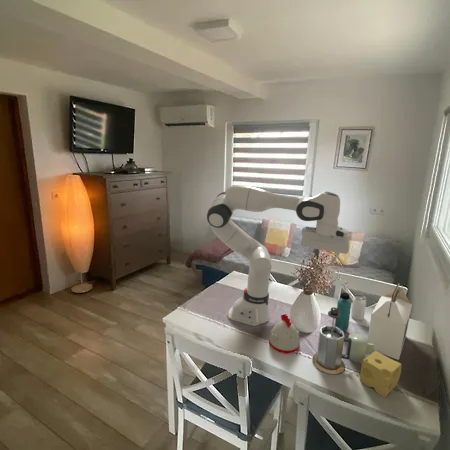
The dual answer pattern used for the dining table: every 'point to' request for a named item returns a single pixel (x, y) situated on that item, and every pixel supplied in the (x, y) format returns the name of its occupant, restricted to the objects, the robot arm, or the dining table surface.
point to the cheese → (380, 373)
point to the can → (358, 307)
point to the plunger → (334, 314)
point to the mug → (359, 347)
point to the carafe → (331, 352)
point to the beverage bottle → (343, 312)
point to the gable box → (390, 323)
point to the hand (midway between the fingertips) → (322, 259)
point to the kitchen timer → (284, 336)
